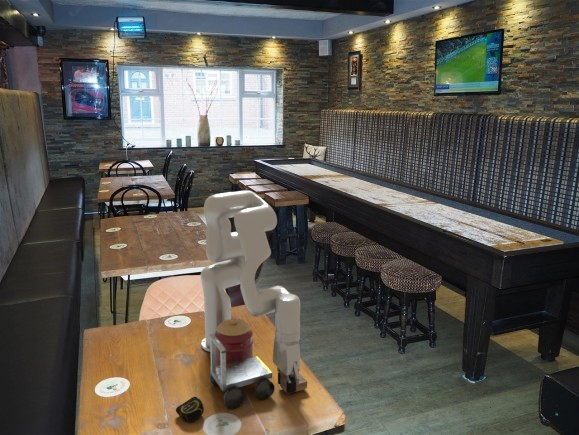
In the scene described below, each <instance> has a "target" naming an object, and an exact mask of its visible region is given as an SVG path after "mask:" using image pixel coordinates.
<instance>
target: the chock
mask: <svg viewBox="0 0 579 435" xmlns="http://www.w3.org/2000/svg"><path fill="white" fill-rule="evenodd" d="M292 371H293V370H292ZM293 376H294V375H293V374H291V375H290V378H291V377H293ZM286 382H288V380H287V375H285V374H284V373H282V371H281V370H280V384H279V386H280V389H282V390H283V391H284V392H285V393H286ZM307 389H308V381H307V379H305V377H303V375H301V374H300V379H298V380H297V381H296V392H295V393H297V392H299V391H303V390H307Z"/></svg>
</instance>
